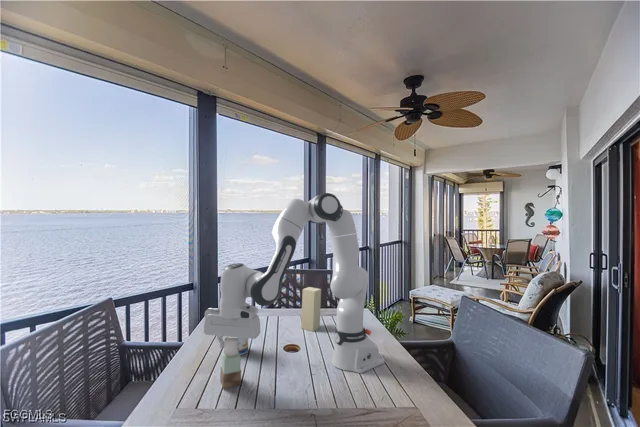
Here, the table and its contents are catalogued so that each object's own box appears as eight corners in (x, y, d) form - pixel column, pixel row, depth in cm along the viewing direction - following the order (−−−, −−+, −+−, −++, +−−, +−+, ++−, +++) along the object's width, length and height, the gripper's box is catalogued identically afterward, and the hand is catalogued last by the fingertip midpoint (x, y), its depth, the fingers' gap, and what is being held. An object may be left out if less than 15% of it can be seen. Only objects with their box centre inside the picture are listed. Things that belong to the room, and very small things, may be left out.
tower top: (237, 363, 111) (237, 350, 111) (240, 371, 107) (240, 356, 107) (221, 366, 109) (222, 353, 109) (224, 374, 104) (224, 359, 104)
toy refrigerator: (320, 327, 162) (322, 288, 162) (313, 331, 156) (314, 291, 156) (308, 324, 167) (309, 286, 167) (300, 328, 160) (302, 289, 160)
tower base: (237, 376, 112) (237, 363, 112) (240, 385, 106) (241, 371, 106) (220, 380, 109) (220, 366, 109) (223, 389, 104) (223, 374, 104)
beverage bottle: (229, 348, 135) (230, 303, 135) (248, 346, 137) (249, 302, 137) (228, 356, 127) (229, 309, 127) (248, 355, 129) (250, 308, 129)
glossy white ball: (238, 348, 111) (238, 335, 111) (238, 354, 106) (239, 340, 106) (223, 350, 109) (224, 336, 109) (223, 356, 105) (224, 342, 105)
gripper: (200, 310, 106) (199, 349, 106) (256, 314, 103) (255, 354, 103) (209, 304, 112) (208, 341, 112) (262, 308, 110) (261, 346, 110)
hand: (231, 348), depth 108 cm, fingers closed on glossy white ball, 5 cm apart
